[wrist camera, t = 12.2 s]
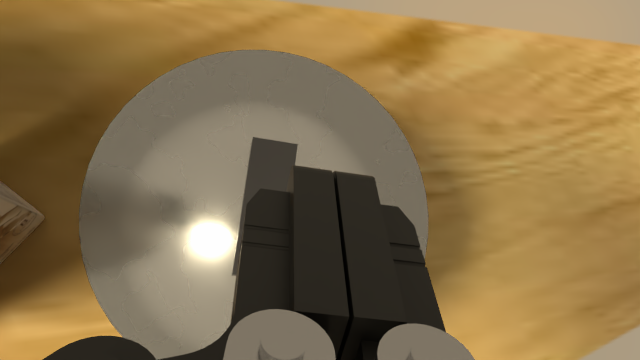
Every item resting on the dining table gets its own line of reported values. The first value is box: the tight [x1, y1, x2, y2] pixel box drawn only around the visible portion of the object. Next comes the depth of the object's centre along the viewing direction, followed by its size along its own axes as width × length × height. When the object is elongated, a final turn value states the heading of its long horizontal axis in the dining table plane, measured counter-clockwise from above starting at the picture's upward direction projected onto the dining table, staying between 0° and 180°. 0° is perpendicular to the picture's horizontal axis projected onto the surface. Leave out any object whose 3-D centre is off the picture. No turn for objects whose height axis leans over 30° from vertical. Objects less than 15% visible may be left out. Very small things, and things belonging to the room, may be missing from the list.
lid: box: [79, 50, 428, 360], centre depth 26 cm, size 16×16×3 cm
